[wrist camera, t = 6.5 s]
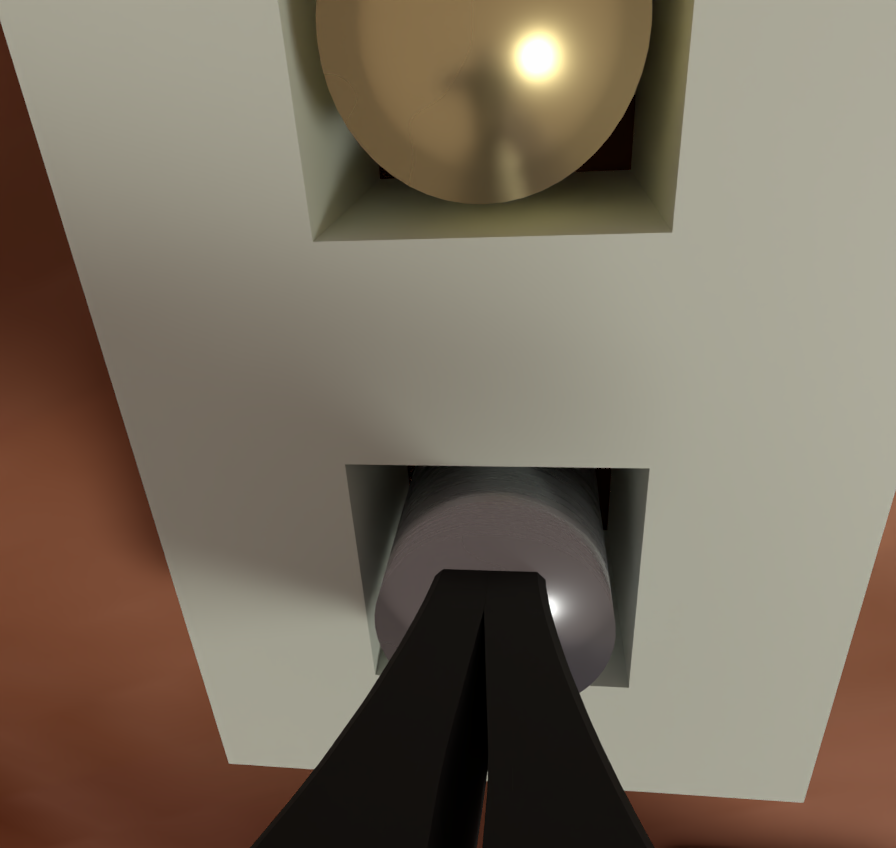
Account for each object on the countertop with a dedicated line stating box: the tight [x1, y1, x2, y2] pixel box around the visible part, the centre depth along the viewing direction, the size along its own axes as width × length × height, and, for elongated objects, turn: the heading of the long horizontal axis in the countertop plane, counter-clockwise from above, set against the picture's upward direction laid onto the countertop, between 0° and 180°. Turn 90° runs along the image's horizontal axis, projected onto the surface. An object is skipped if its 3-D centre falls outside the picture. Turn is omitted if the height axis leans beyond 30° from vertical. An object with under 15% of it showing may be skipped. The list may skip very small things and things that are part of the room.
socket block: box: [0, 0, 896, 803], centre depth 10 cm, size 10×16×4 cm, turn 3°
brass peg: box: [316, 0, 652, 204], centre depth 8 cm, size 3×3×4 cm
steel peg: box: [374, 465, 616, 693], centre depth 11 cm, size 3×3×4 cm
